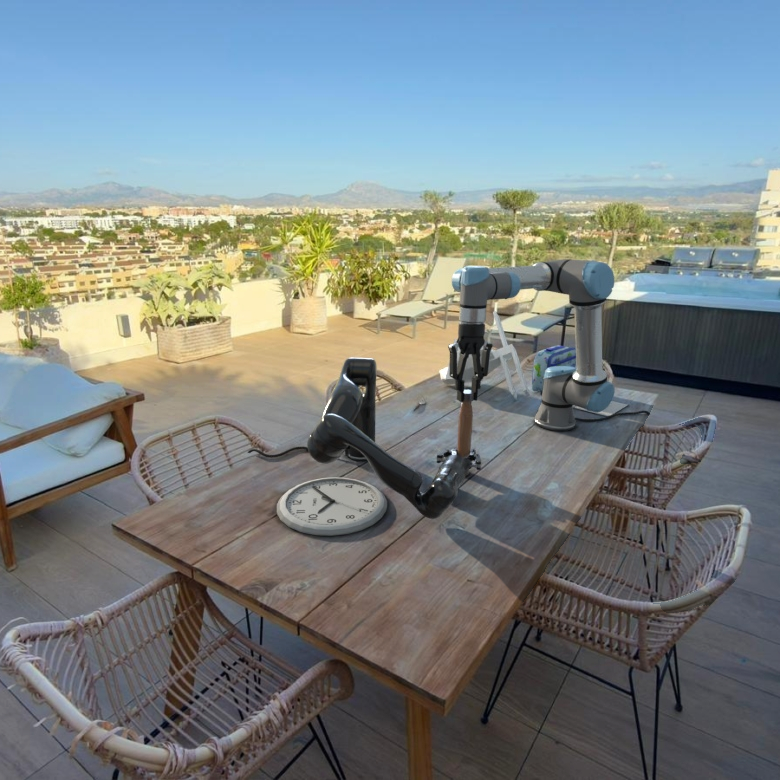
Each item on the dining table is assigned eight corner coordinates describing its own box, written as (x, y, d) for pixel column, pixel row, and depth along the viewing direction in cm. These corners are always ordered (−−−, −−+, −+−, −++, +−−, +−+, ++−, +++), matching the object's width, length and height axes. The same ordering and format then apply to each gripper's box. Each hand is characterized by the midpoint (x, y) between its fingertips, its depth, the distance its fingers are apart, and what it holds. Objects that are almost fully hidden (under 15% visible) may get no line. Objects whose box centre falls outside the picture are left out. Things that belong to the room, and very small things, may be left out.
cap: (464, 402, 153) (465, 394, 153) (457, 398, 157) (457, 390, 156) (476, 400, 155) (477, 392, 154) (469, 396, 158) (469, 389, 158)
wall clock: (392, 527, 129) (268, 531, 127) (391, 533, 130) (269, 537, 127) (383, 473, 158) (282, 475, 155) (383, 478, 158) (282, 480, 156)
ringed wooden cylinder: (471, 474, 162) (477, 394, 155) (461, 477, 160) (466, 396, 153) (463, 469, 166) (468, 390, 158) (453, 471, 164) (457, 392, 156)
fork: (410, 411, 216) (410, 407, 215) (421, 400, 230) (421, 396, 229) (416, 412, 215) (416, 408, 214) (427, 401, 229) (427, 396, 228)
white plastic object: (461, 429, 252) (437, 405, 227) (444, 352, 274) (420, 323, 250) (535, 404, 240) (518, 377, 215) (510, 326, 262) (492, 293, 237)
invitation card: (608, 416, 214) (573, 407, 224) (608, 416, 214) (573, 408, 224) (628, 404, 229) (594, 396, 238) (628, 405, 229) (594, 397, 238)
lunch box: (548, 398, 236) (553, 353, 229) (527, 393, 243) (531, 349, 237) (575, 387, 253) (581, 344, 247) (555, 382, 260) (560, 341, 254)
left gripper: (427, 480, 152) (443, 457, 167) (476, 488, 147) (487, 464, 162) (428, 456, 149) (444, 435, 165) (478, 464, 145) (489, 442, 160)
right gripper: (491, 318, 155) (486, 393, 162) (439, 321, 150) (435, 398, 157) (505, 323, 148) (498, 401, 155) (450, 325, 143) (446, 406, 150)
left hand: (465, 449), depth 163 cm, fingers closed on ringed wooden cylinder, 4 cm apart
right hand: (467, 399), depth 156 cm, fingers closed on cap, 4 cm apart
